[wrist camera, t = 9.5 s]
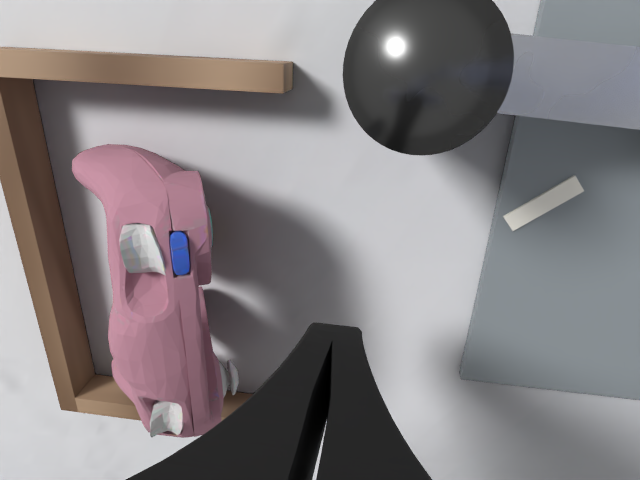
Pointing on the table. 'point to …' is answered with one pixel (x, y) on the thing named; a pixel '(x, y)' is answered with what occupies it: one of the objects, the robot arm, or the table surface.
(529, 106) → the crank
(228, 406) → the bay
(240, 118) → the table surface
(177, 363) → the video game controller
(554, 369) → the plate
